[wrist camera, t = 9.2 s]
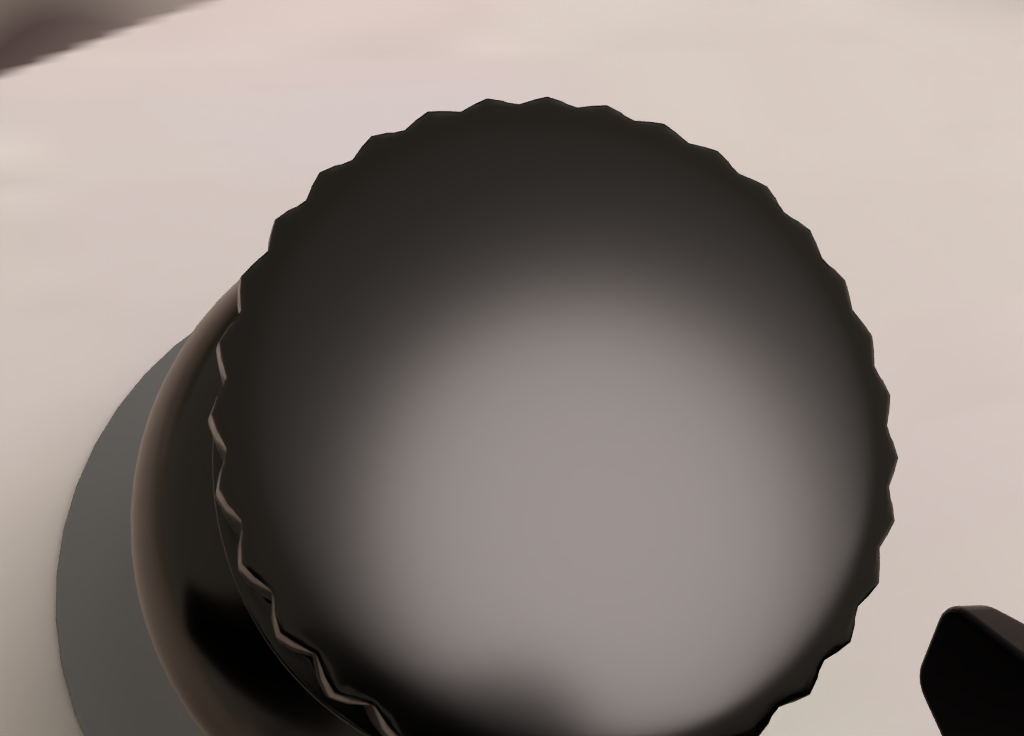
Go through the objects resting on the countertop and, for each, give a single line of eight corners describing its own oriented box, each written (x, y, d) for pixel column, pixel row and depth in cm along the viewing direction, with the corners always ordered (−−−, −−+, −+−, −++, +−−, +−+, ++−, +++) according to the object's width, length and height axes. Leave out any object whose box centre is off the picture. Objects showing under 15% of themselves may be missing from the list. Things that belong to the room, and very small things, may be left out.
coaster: (754, 818, 18) (771, 823, 17) (86, 1004, 15) (77, 1019, 14) (615, 256, 21) (625, 243, 20) (46, 310, 18) (36, 297, 17)
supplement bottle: (120, 636, 16) (-298, 532, 5) (348, 335, 18) (423, -188, 7) (454, 855, 16) (809, 1257, 5) (634, 523, 18) (1139, 286, 7)
